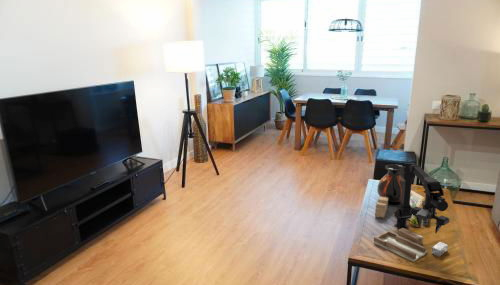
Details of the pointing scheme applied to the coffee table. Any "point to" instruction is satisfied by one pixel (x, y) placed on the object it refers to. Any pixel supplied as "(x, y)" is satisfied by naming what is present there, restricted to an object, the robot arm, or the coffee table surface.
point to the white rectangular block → (439, 249)
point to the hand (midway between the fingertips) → (427, 229)
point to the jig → (400, 245)
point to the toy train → (381, 207)
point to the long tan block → (410, 236)
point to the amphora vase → (391, 185)
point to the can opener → (425, 222)
